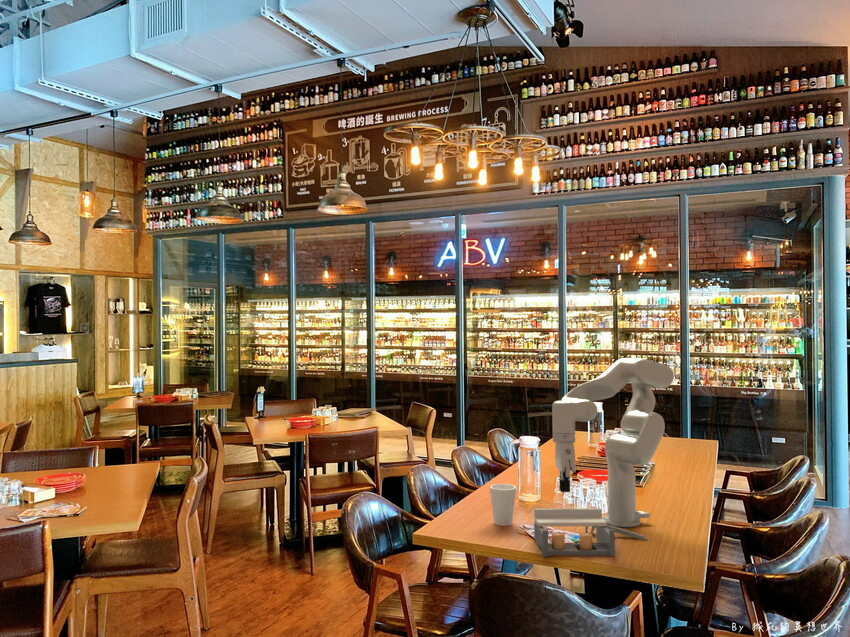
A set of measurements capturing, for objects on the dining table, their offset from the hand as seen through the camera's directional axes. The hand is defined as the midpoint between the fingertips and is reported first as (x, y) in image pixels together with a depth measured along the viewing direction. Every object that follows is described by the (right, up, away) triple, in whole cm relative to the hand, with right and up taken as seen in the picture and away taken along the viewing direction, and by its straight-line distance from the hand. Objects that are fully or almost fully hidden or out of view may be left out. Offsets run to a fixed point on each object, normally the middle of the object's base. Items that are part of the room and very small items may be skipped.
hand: (564, 491), depth 213 cm
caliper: (+17, -15, -1) cm, 23 cm away
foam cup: (-19, -15, +14) cm, 28 cm away
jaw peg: (+3, -15, -17) cm, 22 cm away
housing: (0, -15, -13) cm, 19 cm away
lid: (0, -8, -9) cm, 12 cm away
